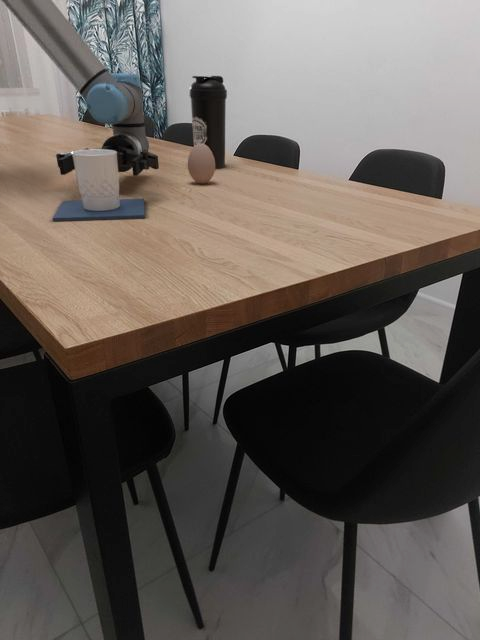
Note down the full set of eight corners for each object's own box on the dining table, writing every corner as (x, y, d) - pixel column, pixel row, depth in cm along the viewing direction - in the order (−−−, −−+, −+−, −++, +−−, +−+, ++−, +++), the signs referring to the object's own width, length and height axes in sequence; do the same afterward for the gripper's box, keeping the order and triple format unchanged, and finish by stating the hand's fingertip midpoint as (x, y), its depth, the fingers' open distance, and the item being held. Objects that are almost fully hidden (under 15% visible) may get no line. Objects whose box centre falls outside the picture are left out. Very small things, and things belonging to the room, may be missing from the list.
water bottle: (185, 165, 145) (180, 75, 134) (213, 162, 151) (211, 75, 140) (206, 170, 138) (203, 75, 127) (235, 167, 144) (234, 76, 133)
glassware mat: (53, 221, 89) (52, 218, 89) (63, 203, 101) (62, 200, 101) (145, 218, 92) (144, 214, 92) (144, 201, 104) (144, 198, 104)
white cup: (124, 202, 100) (118, 149, 96) (121, 211, 94) (115, 155, 89) (83, 203, 99) (75, 149, 94) (77, 212, 92) (68, 155, 88)
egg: (199, 179, 126) (197, 140, 122) (221, 182, 123) (220, 143, 119) (183, 184, 121) (180, 143, 117) (205, 187, 118) (203, 145, 114)
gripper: (178, 170, 115) (166, 189, 97) (68, 168, 114) (34, 187, 96) (176, 135, 112) (163, 147, 93) (63, 133, 111) (26, 145, 92)
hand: (98, 167), depth 94 cm, fingers open, 13 cm apart
